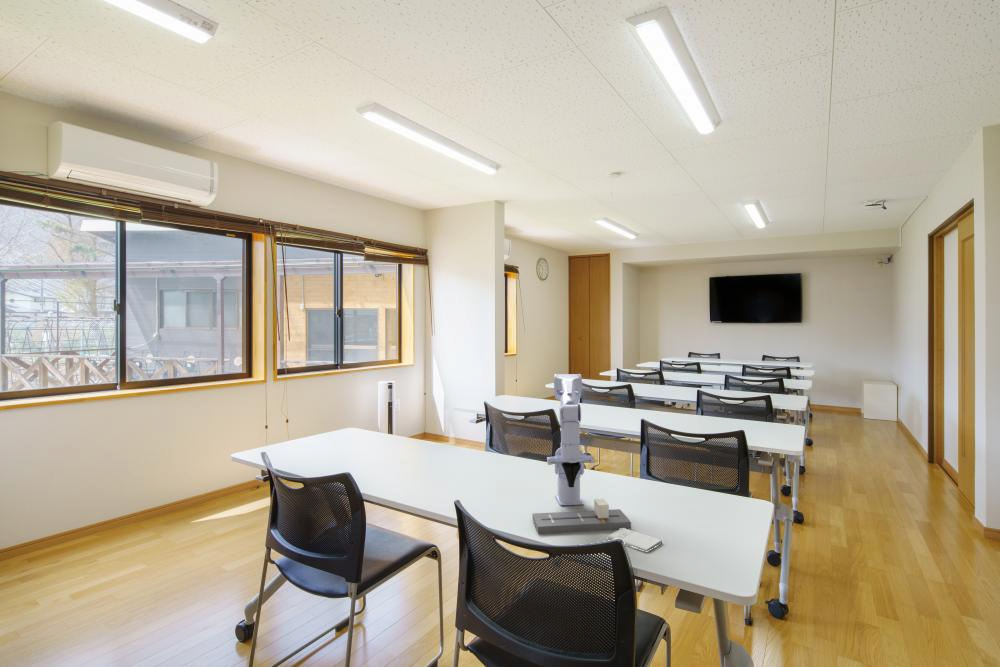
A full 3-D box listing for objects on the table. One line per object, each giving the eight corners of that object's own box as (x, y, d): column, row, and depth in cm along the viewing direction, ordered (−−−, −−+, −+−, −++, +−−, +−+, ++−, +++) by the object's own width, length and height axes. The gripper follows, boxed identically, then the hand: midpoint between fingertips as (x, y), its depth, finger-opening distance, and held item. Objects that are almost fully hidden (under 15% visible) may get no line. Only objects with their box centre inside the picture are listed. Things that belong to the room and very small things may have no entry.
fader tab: (594, 512, 159) (594, 499, 158) (603, 511, 159) (603, 498, 159) (598, 518, 154) (598, 505, 153) (608, 517, 154) (608, 504, 154)
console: (532, 519, 159) (532, 513, 159) (619, 515, 162) (619, 508, 162) (537, 533, 149) (537, 526, 149) (630, 528, 152) (630, 521, 152)
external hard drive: (646, 555, 136) (607, 540, 145) (662, 545, 142) (623, 532, 151) (646, 549, 136) (607, 535, 145) (662, 539, 142) (623, 526, 151)
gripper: (549, 447, 154) (550, 491, 154) (596, 445, 155) (597, 489, 156) (545, 441, 161) (545, 484, 161) (590, 439, 162) (590, 482, 163)
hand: (570, 486), depth 159 cm, fingers closed
